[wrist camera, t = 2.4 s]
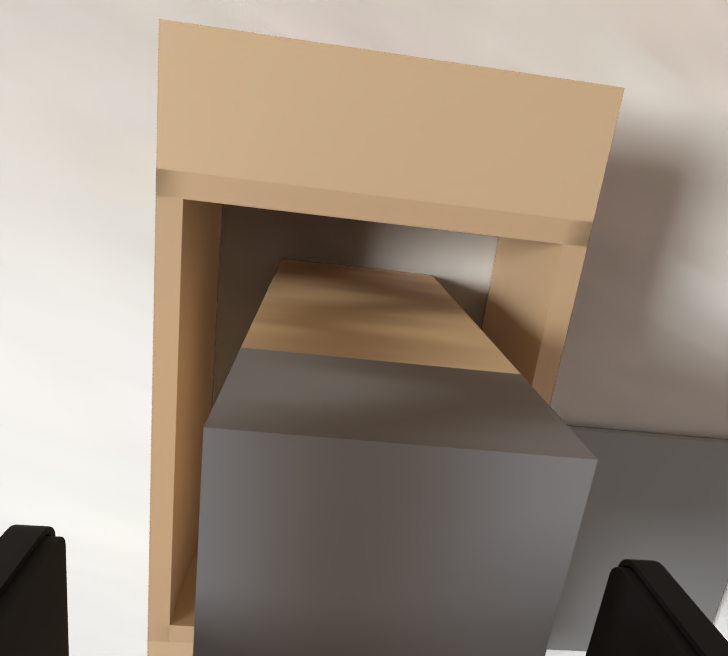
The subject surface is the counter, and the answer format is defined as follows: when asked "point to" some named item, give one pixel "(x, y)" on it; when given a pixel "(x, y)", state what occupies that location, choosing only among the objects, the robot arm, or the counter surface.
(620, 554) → the mat
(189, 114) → the carton
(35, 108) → the counter surface
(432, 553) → the block
